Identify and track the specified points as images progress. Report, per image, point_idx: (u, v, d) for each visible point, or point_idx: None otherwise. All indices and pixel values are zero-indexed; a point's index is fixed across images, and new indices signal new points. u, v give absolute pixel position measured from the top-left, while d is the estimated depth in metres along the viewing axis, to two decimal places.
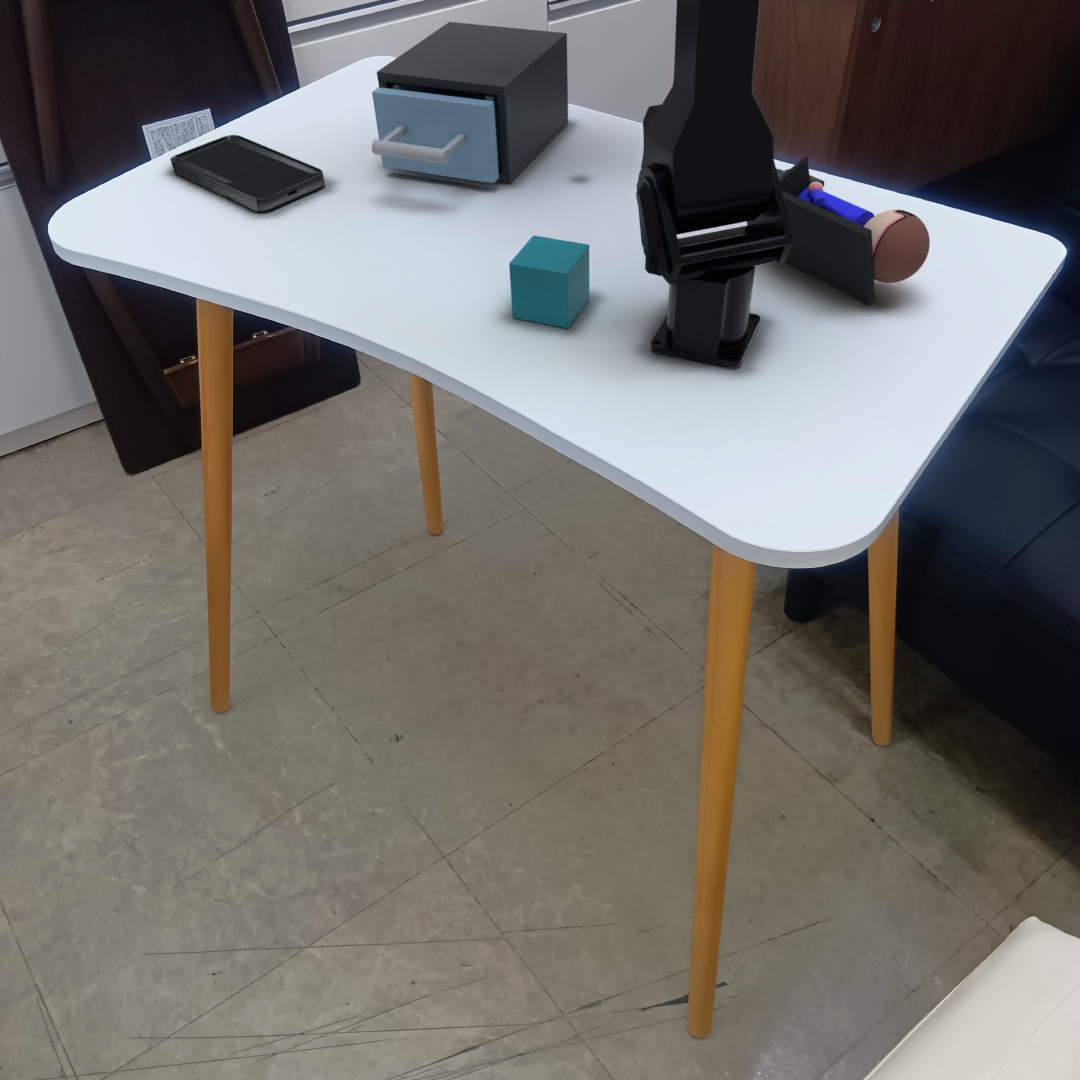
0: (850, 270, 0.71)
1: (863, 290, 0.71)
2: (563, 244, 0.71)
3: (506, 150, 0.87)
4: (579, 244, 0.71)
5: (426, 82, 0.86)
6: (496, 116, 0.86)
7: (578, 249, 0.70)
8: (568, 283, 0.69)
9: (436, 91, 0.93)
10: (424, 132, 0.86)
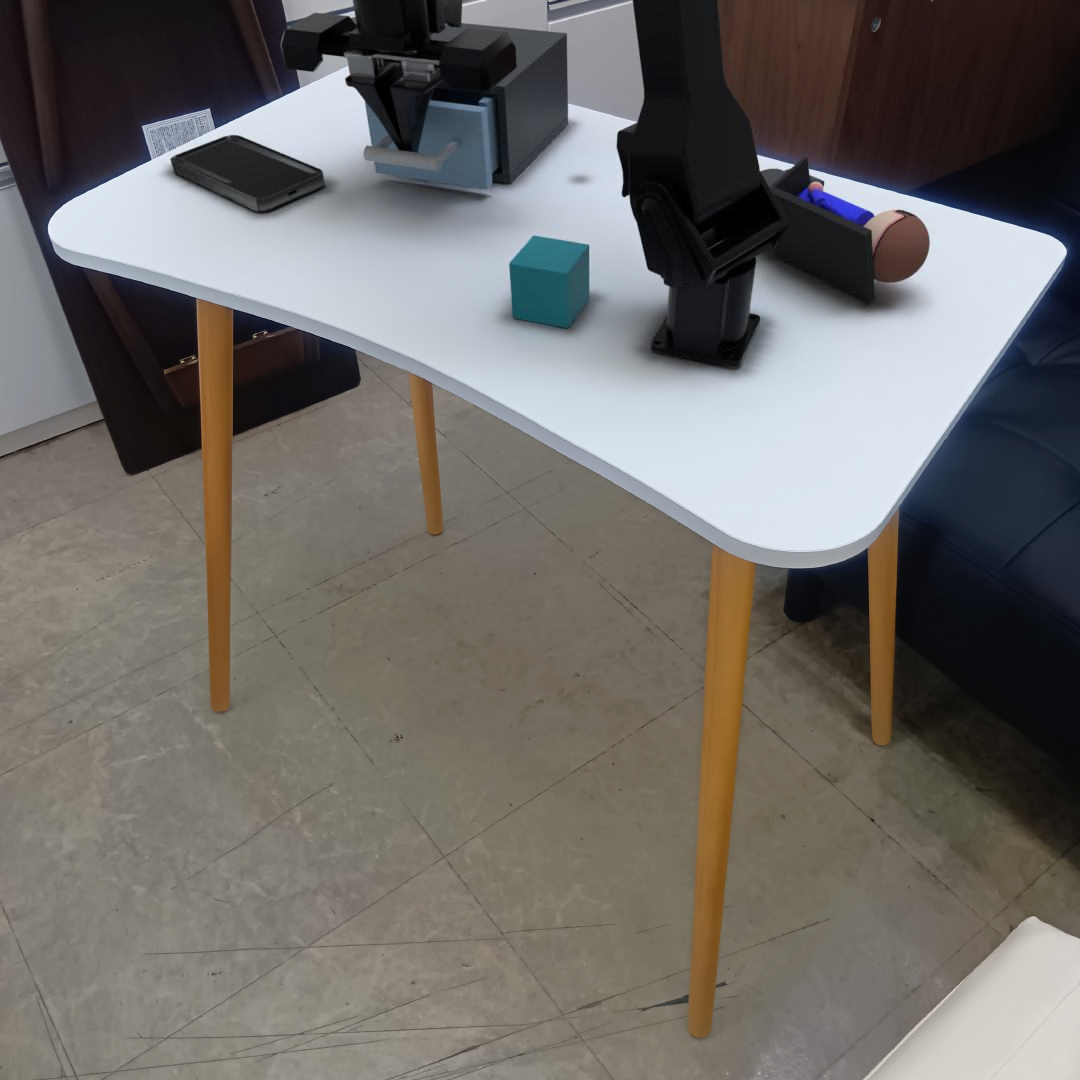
0: (850, 270, 0.71)
1: (863, 290, 0.71)
2: (563, 244, 0.71)
3: (506, 150, 0.87)
4: (579, 244, 0.71)
5: None
6: (489, 122, 0.85)
7: (578, 249, 0.70)
8: (568, 283, 0.69)
9: None
10: None
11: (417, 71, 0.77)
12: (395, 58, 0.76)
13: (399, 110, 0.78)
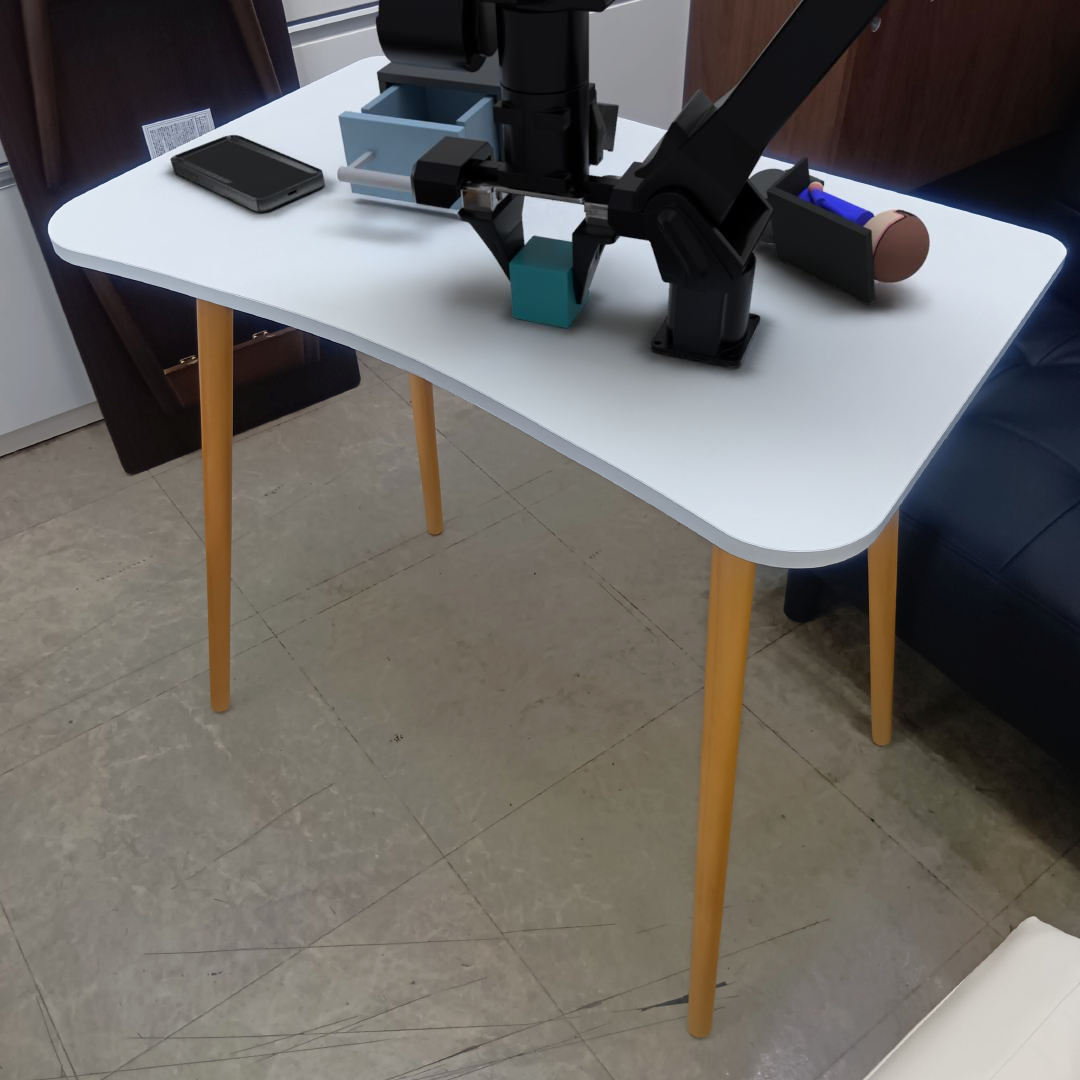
0: (850, 270, 0.71)
1: (863, 290, 0.71)
2: (563, 244, 0.71)
3: None
4: None
5: (426, 82, 0.86)
6: None
7: None
8: (568, 283, 0.69)
9: (408, 113, 0.89)
10: (393, 158, 0.83)
11: (604, 215, 0.65)
12: (549, 197, 0.65)
13: (578, 258, 0.67)
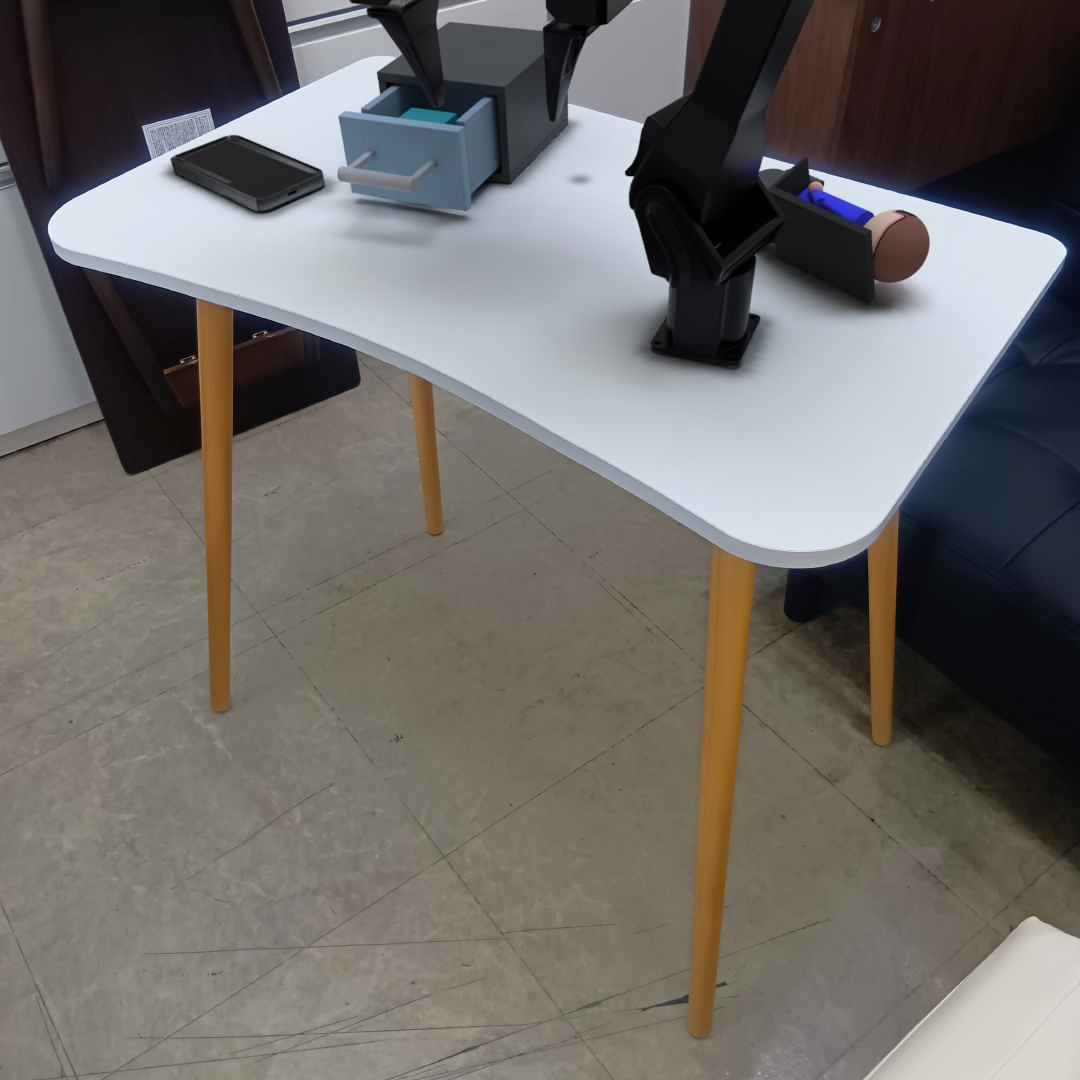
0: (850, 270, 0.71)
1: (863, 290, 0.71)
2: (434, 113, 0.85)
3: (506, 150, 0.87)
4: (448, 113, 0.85)
5: None
6: (468, 141, 0.82)
7: (446, 116, 0.84)
8: None
9: None
10: (393, 158, 0.83)
11: None
12: None
13: (549, 59, 0.64)
